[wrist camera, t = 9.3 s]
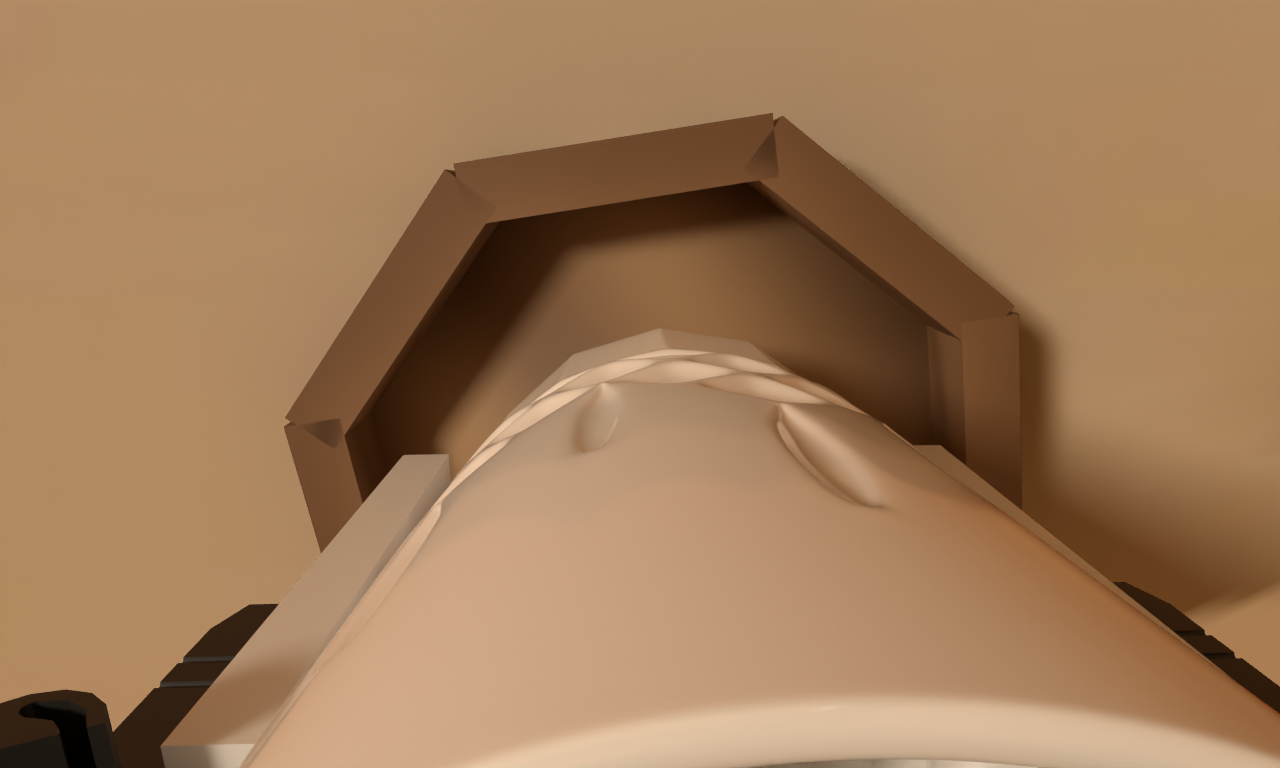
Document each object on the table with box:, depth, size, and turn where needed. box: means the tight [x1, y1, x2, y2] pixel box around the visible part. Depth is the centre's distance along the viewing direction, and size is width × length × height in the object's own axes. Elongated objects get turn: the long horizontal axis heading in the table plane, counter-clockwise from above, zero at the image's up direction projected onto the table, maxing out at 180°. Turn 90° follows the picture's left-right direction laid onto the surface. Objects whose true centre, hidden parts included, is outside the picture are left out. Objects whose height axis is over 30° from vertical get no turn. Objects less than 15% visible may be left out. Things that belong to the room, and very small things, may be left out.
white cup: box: [237, 328, 1280, 768], centre depth 8 cm, size 8×8×10 cm
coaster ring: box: [284, 113, 1022, 553], centre depth 14 cm, size 13×13×2 cm
